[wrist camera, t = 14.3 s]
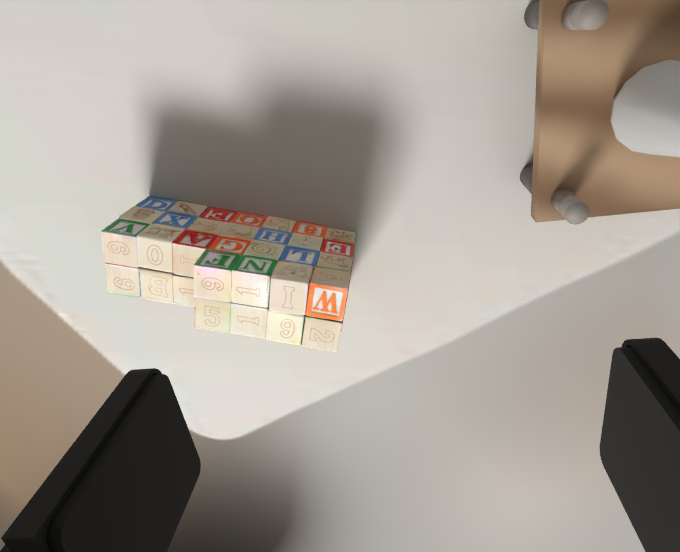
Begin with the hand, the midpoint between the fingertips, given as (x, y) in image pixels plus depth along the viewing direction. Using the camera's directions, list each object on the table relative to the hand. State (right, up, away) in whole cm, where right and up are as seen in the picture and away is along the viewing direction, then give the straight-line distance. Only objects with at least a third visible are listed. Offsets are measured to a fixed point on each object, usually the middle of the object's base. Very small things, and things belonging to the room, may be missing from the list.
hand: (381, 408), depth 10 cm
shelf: (+21, +18, +29) cm, 41 cm away
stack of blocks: (-10, +7, +39) cm, 41 cm away
